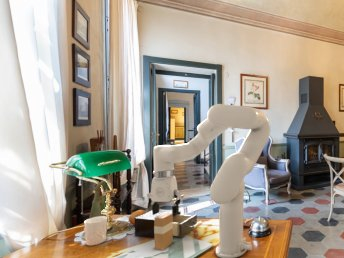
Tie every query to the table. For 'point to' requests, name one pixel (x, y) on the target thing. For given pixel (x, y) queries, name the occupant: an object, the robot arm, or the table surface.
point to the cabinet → (147, 223)
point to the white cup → (95, 230)
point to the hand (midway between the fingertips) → (165, 214)
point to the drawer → (184, 224)
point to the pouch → (98, 201)
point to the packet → (163, 230)
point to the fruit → (134, 215)
